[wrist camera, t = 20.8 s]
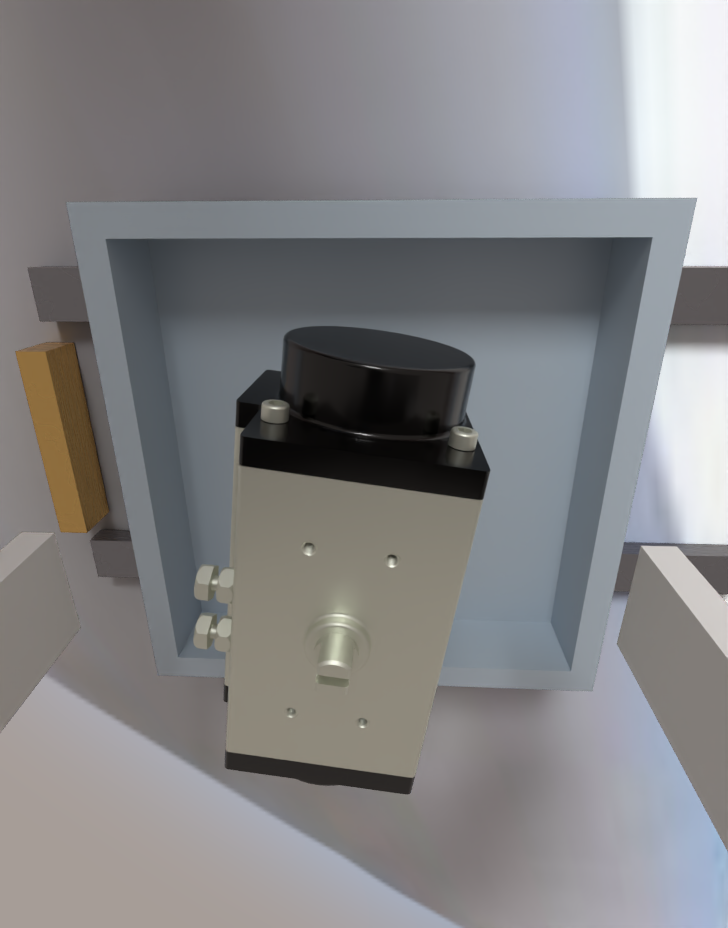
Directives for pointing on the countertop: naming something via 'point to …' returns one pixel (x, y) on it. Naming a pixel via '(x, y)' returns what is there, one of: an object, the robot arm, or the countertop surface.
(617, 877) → the countertop surface
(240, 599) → the pneumatic valve
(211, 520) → the shallow square tray
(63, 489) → the rails
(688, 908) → the countertop surface
